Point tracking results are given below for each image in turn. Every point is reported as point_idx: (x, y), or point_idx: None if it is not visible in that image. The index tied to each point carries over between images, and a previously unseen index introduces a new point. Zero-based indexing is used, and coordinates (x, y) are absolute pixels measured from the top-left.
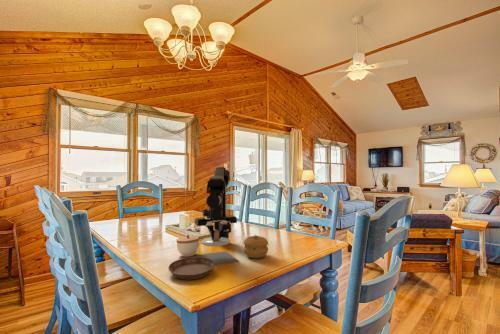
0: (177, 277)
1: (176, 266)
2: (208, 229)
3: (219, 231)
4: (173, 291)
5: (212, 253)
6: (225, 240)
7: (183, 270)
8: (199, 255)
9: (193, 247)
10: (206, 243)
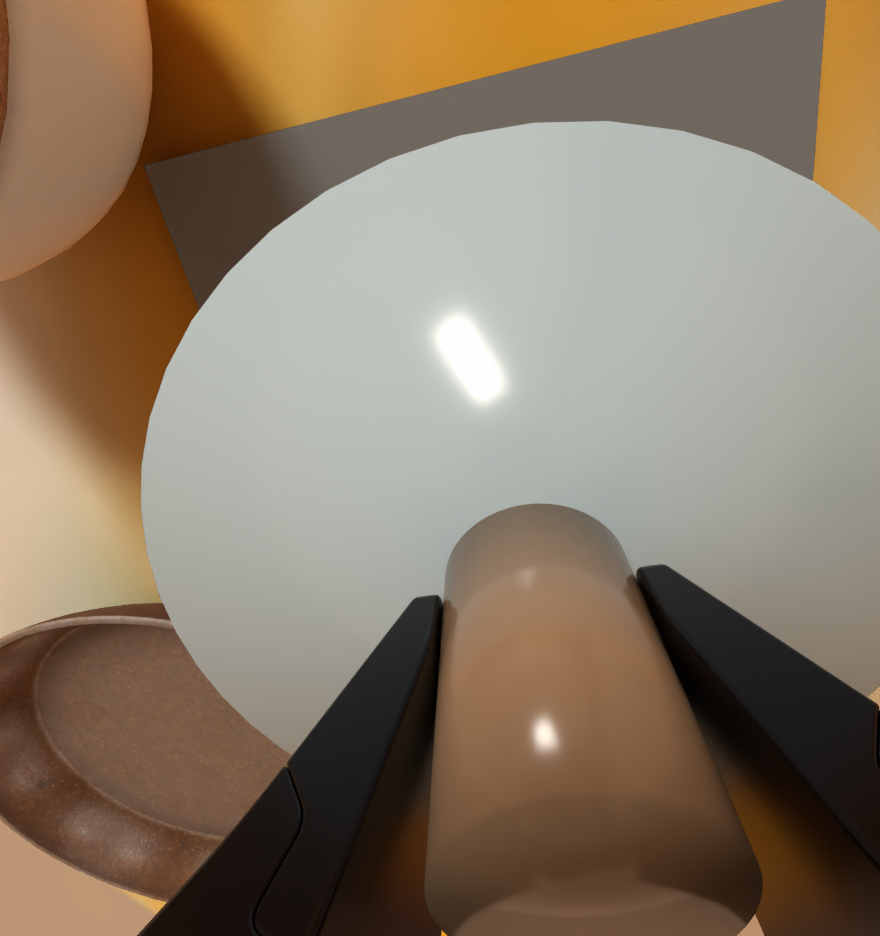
0: (120, 809)
1: (26, 663)
2: (183, 920)
3: (755, 793)
4: (153, 906)
5: (490, 121)
6: (781, 638)
7: (131, 718)
8: (240, 196)
9: (27, 265)
10: (285, 739)
